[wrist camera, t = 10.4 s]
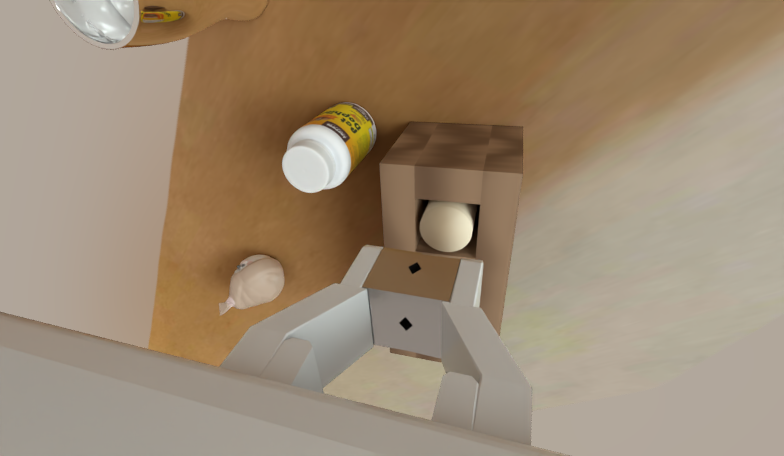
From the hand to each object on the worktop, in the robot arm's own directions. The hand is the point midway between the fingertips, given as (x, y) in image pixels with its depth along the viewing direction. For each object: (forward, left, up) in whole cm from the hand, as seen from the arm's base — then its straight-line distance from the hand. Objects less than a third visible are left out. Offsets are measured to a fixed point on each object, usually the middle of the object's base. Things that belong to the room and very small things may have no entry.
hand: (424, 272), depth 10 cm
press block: (+2, +15, -28) cm, 32 cm away
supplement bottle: (+13, +6, -28) cm, 32 cm away
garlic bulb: (+26, +25, -28) cm, 46 cm away
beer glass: (+22, -7, -28) cm, 37 cm away
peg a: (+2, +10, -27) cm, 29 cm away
